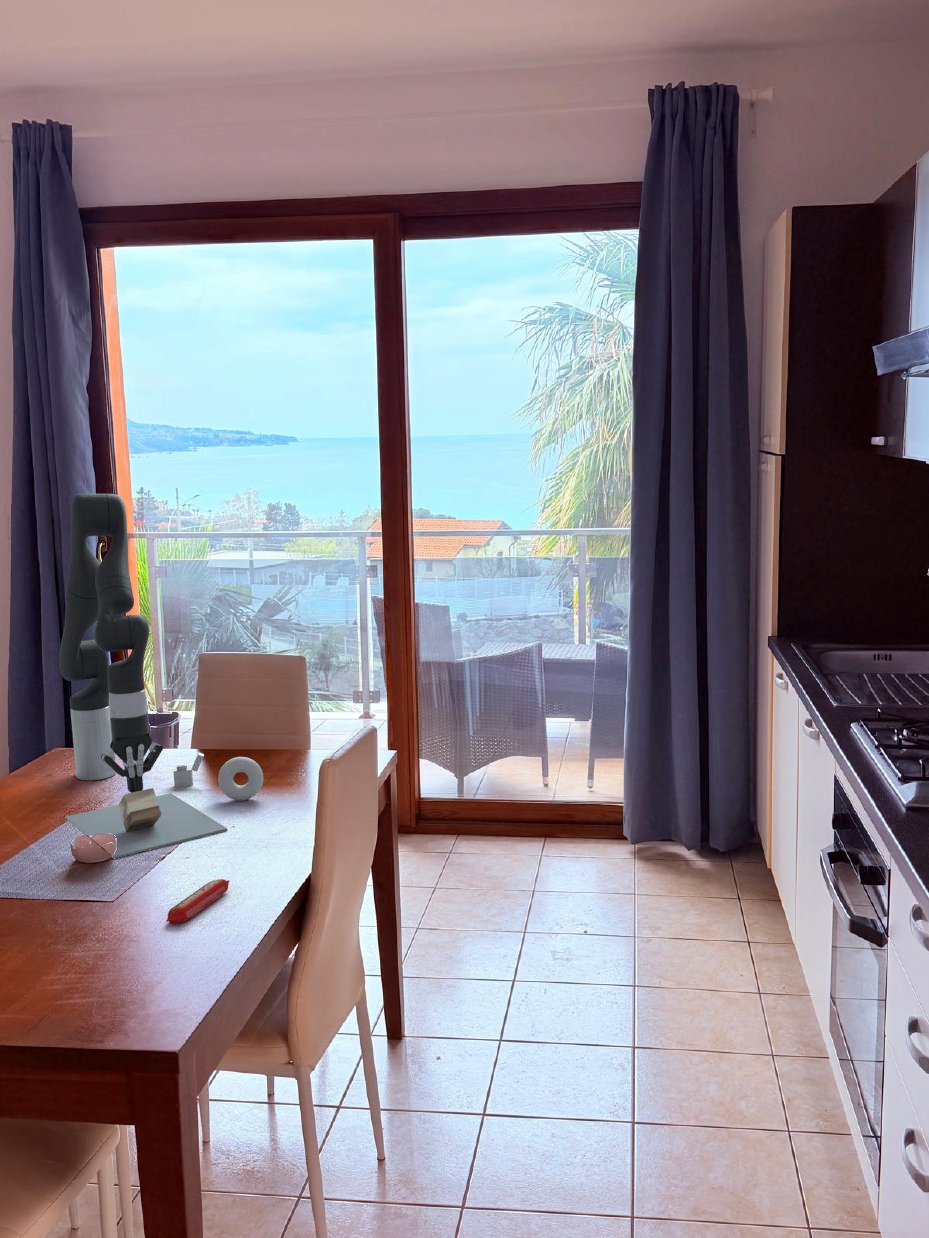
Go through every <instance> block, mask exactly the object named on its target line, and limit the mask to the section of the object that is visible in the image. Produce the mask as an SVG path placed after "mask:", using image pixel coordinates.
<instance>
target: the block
mask: <svg viewBox="0 0 929 1238" xmlns="http://www.w3.org/2000/svg"><path fill="white" fill-rule="evenodd" d="M156 796H157V795H156V793H155V790H154V787H152V788H146V789H143V790H142V791H137V792H133V793H131V792H128V793H125V794H124V795H123V796H122V798H121V799H120V801H119V803H118V804H117V805H118V807H119V810H120V813H121V817H122V820H123V823H124V827H125V830H126V832H127V831H132V830H136V829H140V828H144V827H148V826H153V825H155V823H156V822H157V820H158V819H159V817H160V816H161V815H162V814H161V811H160V808H159V805H158V802H157V798H156Z"/></svg>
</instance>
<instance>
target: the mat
mask: <svg viewBox="0 0 929 1238" xmlns="http://www.w3.org/2000/svg"><path fill="white" fill-rule="evenodd" d="M156 798H157V802H158V805H159V808H160V811H161V814H162V815H161V816H160V817H159V819H158V820H157V822H156V823H155V825H153V826H148V827H144V828H140V829H136V830H132V831H127V832H126V830H125V827H124V823H123V820H122V817H121V813H120V810H119V807H118V805H119V804H115V805H112V806H107V807H102V808H98V809H94V810H90V811H85V812H81V813H77V814H76V813H75V814H72V815H67V816H64V818H65V819H66V820H67V821H68V822H69V823H71V824H72V825H73V826H75V827H76V828H77V829H78V830H79V831H80V832H82V834H84V836H87V835H94V834H96V833H111V834H113V835H115V836H116V838H117V850H116V852H115V854H114V855H113V859H112V860H116V858H117V859H120V858H119V857H121V858H125V857H128V856H127V855H129V856H132V854H133V855H136V854H135V853H137V854H139V853H138V852H141V853H143V852H142V851H145V852H147V851H146V850H149V849H153V850H156V849H160V848H164V847H167V846H166V845H168V846H172V845H176V844H180V843H183V842H188V841H191V840H195V839H201V838H204V837H208V836H211V835H215V834H219V833H224V832H227V831H228V828H227V827H226V826H224V825H222V824H221V823H219V822H218V821H217V820H214V819H213V818H211V817H210V816H208V815H206V814H205V813H204V812H203V811H200V810H198V809H197V808H195V807H194V806H192V805H191V804H189V803H187V802H186V801H184V800H183V799H181V798H179V797H177V795H174V794H173V793H171V792H170V793H166V794H161V795H156ZM179 842H180V843H179ZM163 846H164V847H163ZM149 851H150V850H149ZM124 856H125V857H124ZM114 858H115V859H114Z"/></svg>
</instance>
